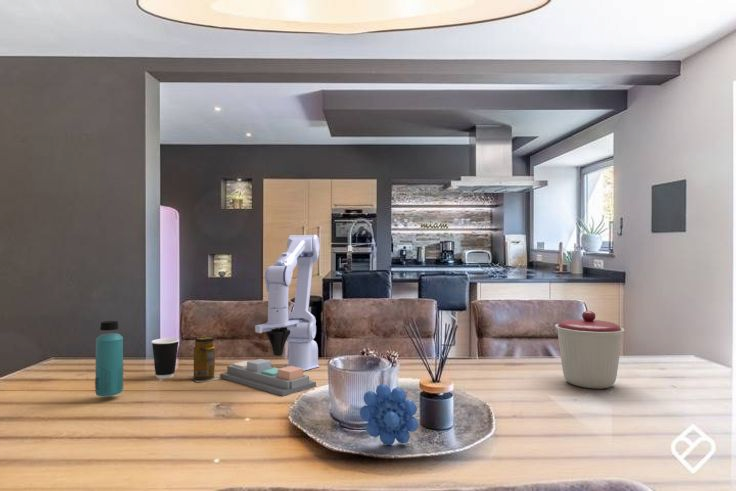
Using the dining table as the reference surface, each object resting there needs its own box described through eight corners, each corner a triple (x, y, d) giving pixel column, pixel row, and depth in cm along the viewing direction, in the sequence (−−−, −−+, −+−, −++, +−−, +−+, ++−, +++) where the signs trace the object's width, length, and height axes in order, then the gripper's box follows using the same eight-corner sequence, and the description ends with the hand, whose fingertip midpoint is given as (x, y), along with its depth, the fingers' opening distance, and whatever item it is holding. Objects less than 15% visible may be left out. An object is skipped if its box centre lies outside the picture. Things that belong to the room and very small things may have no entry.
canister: (609, 397, 121) (608, 316, 122) (543, 383, 135) (543, 310, 135) (635, 385, 133) (634, 311, 134) (572, 372, 147) (572, 306, 147)
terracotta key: (291, 374, 133) (291, 365, 133) (303, 377, 130) (303, 368, 130) (277, 377, 129) (277, 369, 129) (289, 381, 126) (289, 372, 126)
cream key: (246, 368, 146) (246, 360, 146) (256, 371, 143) (256, 363, 143) (233, 371, 142) (233, 363, 142) (242, 374, 139) (242, 366, 139)
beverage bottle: (129, 396, 122) (129, 320, 122) (105, 404, 116) (106, 323, 116) (112, 393, 124) (113, 318, 125) (88, 400, 118) (89, 321, 119)
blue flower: (361, 456, 86) (361, 391, 86) (358, 441, 93) (358, 381, 93) (423, 453, 87) (423, 389, 88) (415, 439, 94) (415, 379, 94)
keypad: (252, 369, 150) (252, 360, 150) (315, 386, 132) (316, 374, 132) (220, 377, 141) (220, 366, 141) (283, 396, 122) (283, 384, 122)
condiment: (211, 373, 146) (212, 335, 146) (221, 379, 139) (221, 339, 139) (187, 377, 141) (188, 337, 142) (196, 383, 135) (196, 341, 135)
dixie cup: (184, 373, 145) (184, 338, 145) (168, 380, 137) (169, 343, 137) (161, 372, 146) (161, 337, 147) (144, 379, 139) (145, 342, 139)
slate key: (260, 366, 142) (260, 358, 142) (271, 369, 139) (271, 361, 139) (246, 369, 138) (246, 361, 138) (257, 372, 135) (257, 364, 135)
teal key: (275, 375, 137) (275, 367, 137) (286, 378, 134) (286, 370, 134) (261, 379, 134) (261, 370, 134) (272, 382, 130) (272, 373, 130)
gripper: (288, 304, 141) (288, 349, 141) (248, 308, 130) (248, 357, 130) (304, 306, 137) (304, 352, 136) (264, 310, 126) (264, 361, 125)
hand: (277, 355), depth 133 cm, fingers closed
